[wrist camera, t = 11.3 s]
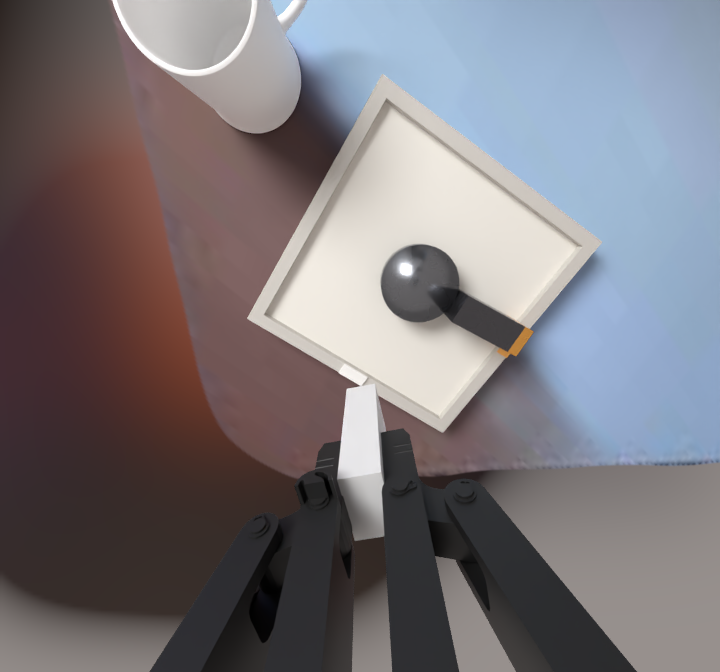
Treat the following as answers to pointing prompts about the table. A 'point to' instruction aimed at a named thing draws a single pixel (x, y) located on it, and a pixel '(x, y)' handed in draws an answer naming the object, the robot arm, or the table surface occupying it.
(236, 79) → the mug
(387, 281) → the dark grey handled piece
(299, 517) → the robot arm
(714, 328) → the table surface
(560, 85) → the table surface
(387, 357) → the white square tray
